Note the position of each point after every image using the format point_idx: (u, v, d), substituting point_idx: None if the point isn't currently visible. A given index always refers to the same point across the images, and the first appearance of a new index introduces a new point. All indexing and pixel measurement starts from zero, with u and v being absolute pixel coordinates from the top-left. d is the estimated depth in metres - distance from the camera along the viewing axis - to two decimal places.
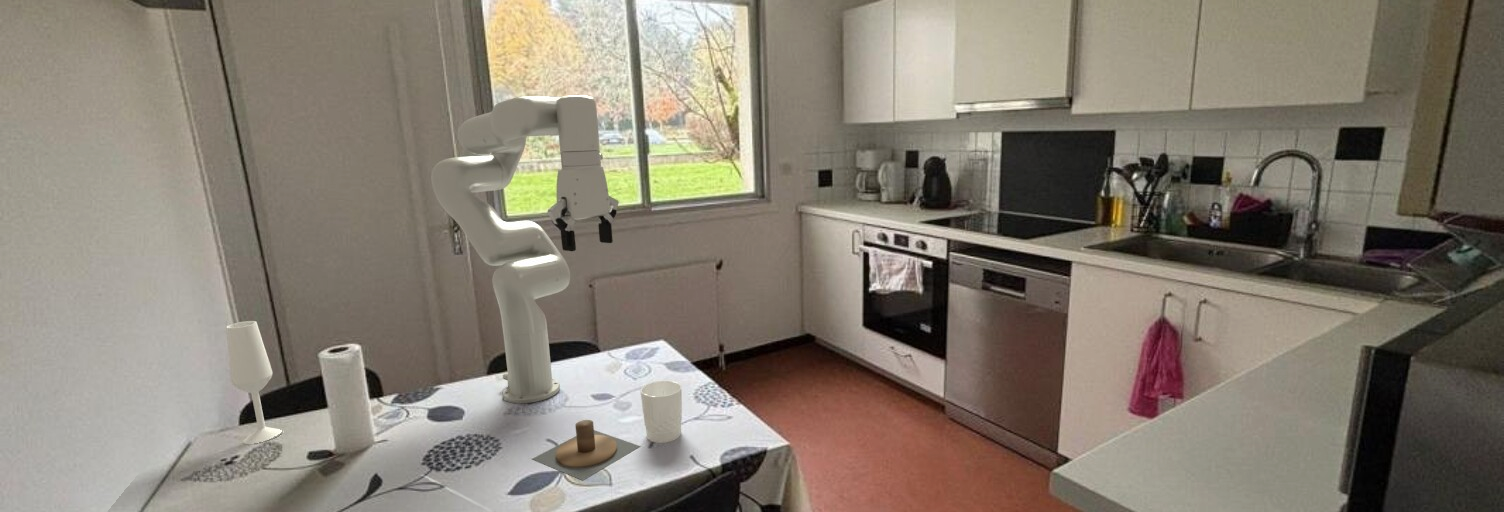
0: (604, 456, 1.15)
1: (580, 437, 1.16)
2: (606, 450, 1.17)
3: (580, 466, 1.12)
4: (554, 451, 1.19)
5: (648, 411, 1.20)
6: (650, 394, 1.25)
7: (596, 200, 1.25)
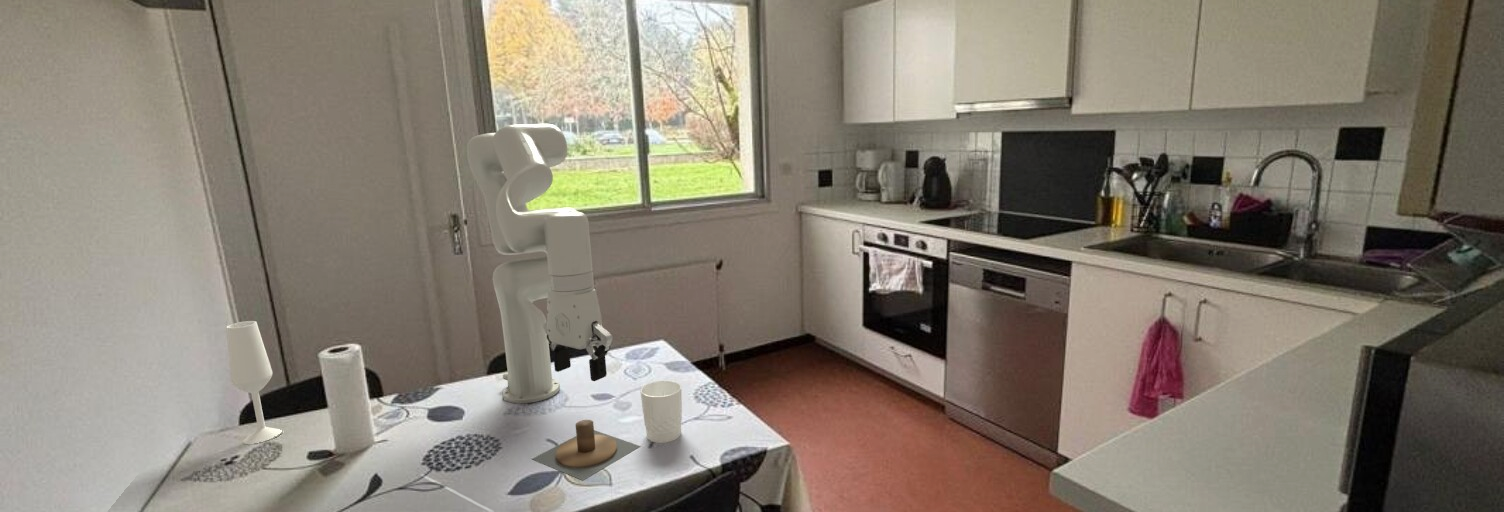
0: (604, 456, 1.15)
1: (580, 437, 1.16)
2: (606, 450, 1.17)
3: (580, 466, 1.12)
4: (554, 451, 1.19)
5: (648, 411, 1.20)
6: (650, 394, 1.25)
7: None
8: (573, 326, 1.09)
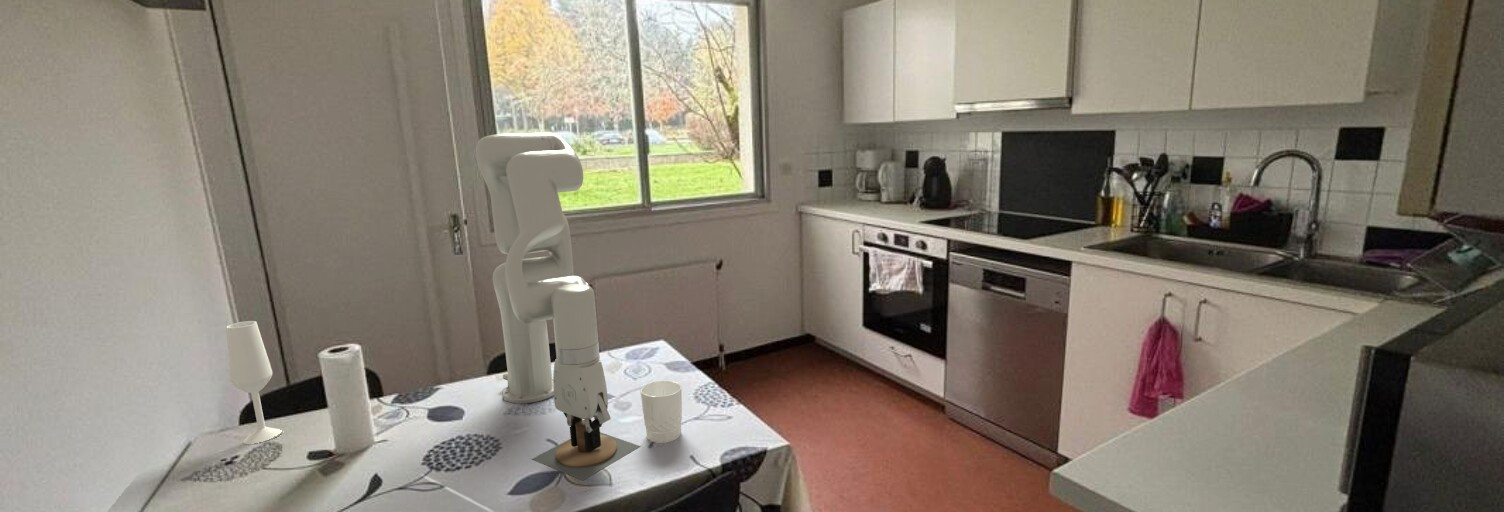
0: (604, 456, 1.15)
1: (580, 437, 1.16)
2: (606, 449, 1.17)
3: (580, 466, 1.12)
4: (554, 451, 1.19)
5: (648, 411, 1.20)
6: (650, 394, 1.25)
7: None
8: (579, 397, 1.12)
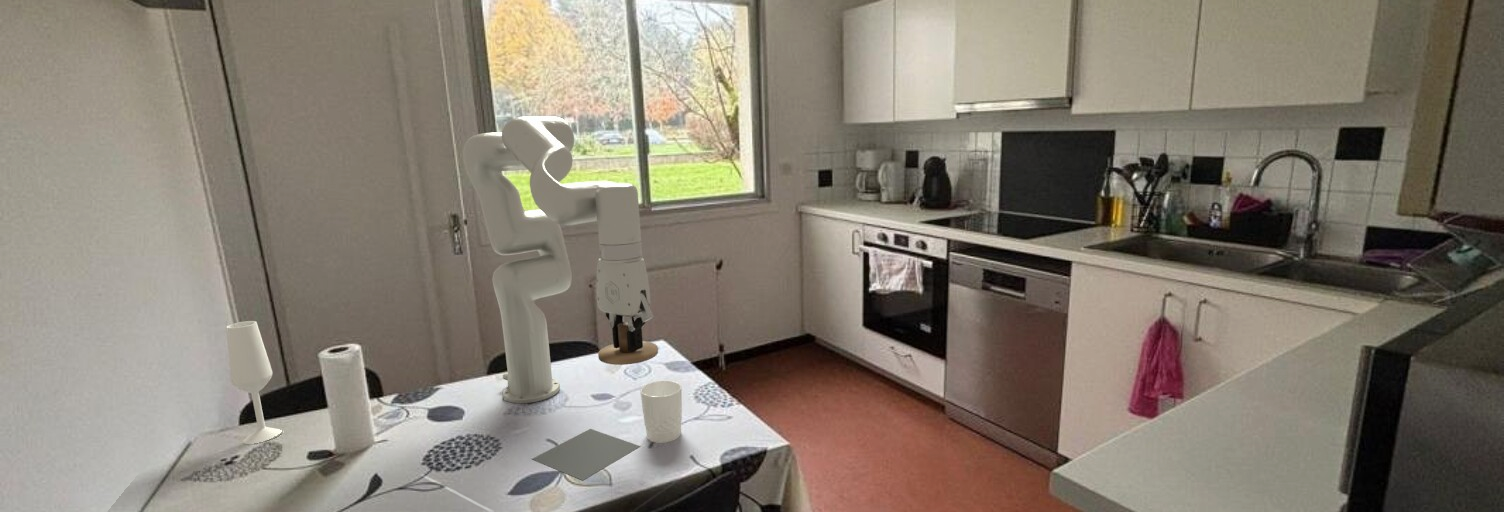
0: (646, 355, 1.15)
1: (622, 337, 1.16)
2: (648, 351, 1.17)
3: (623, 363, 1.13)
4: (554, 451, 1.19)
5: (648, 411, 1.20)
6: (650, 394, 1.25)
7: None
8: (622, 294, 1.12)
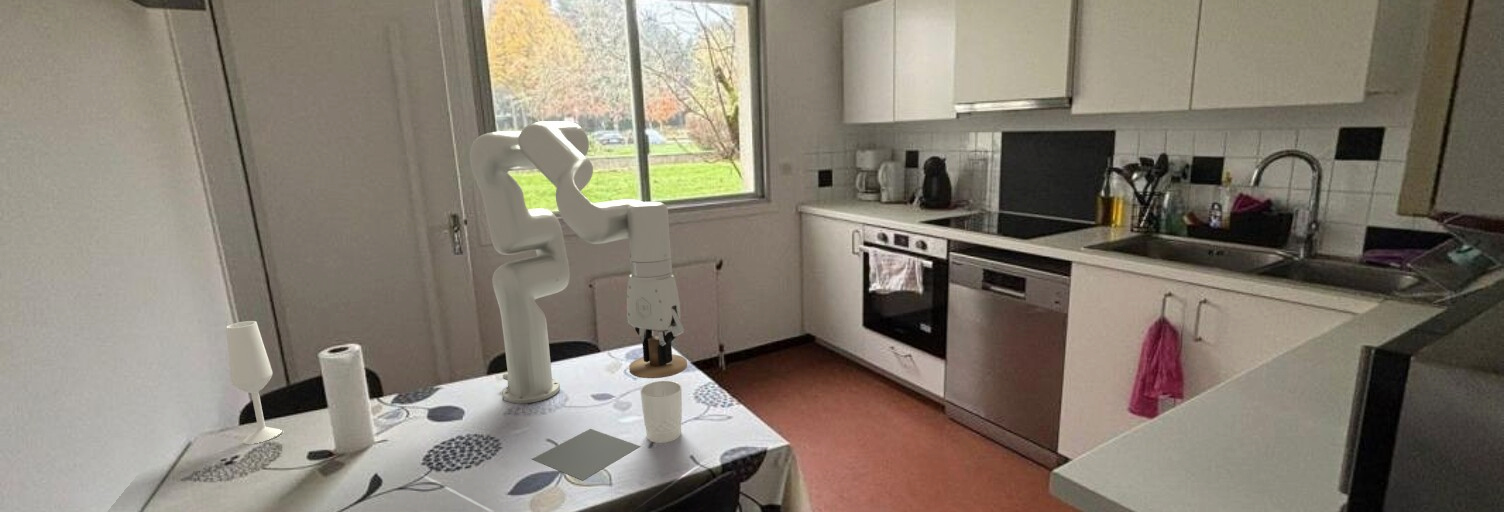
0: (677, 368, 1.18)
1: (653, 351, 1.19)
2: (677, 364, 1.21)
3: (655, 376, 1.16)
4: (554, 451, 1.19)
5: (648, 411, 1.20)
6: (650, 394, 1.25)
7: None
8: (654, 310, 1.15)
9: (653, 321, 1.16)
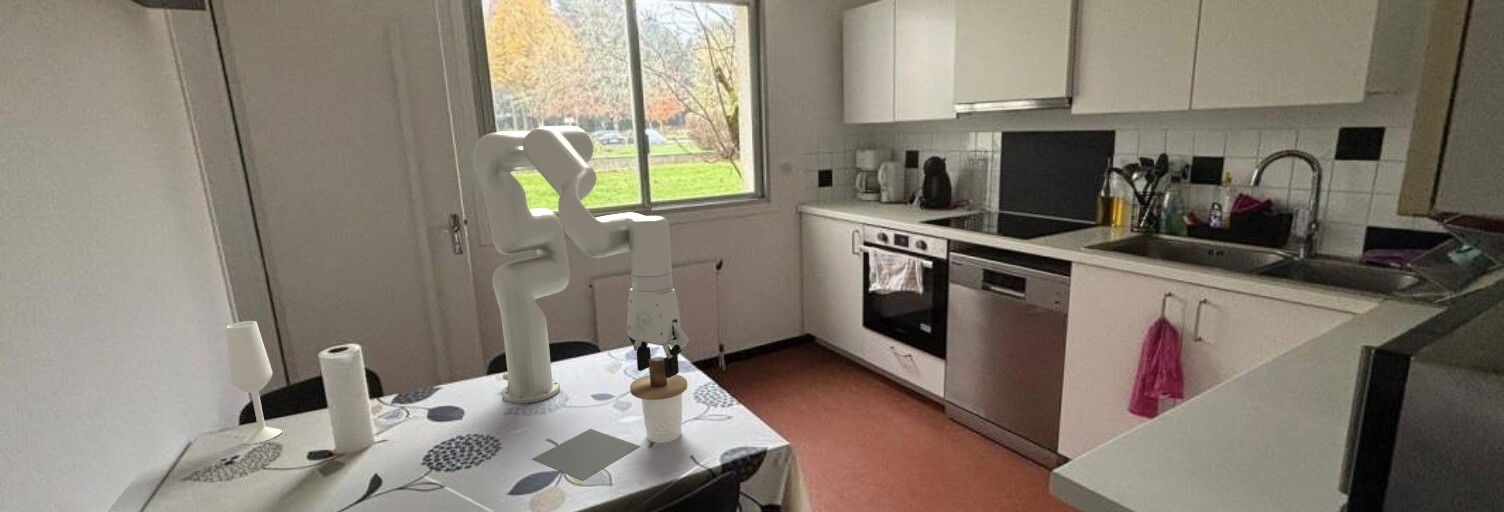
0: (677, 390, 1.19)
1: (653, 372, 1.20)
2: (678, 385, 1.22)
3: (656, 398, 1.17)
4: (554, 451, 1.19)
5: (648, 411, 1.20)
6: None
7: None
8: (655, 324, 1.16)
9: (653, 335, 1.17)
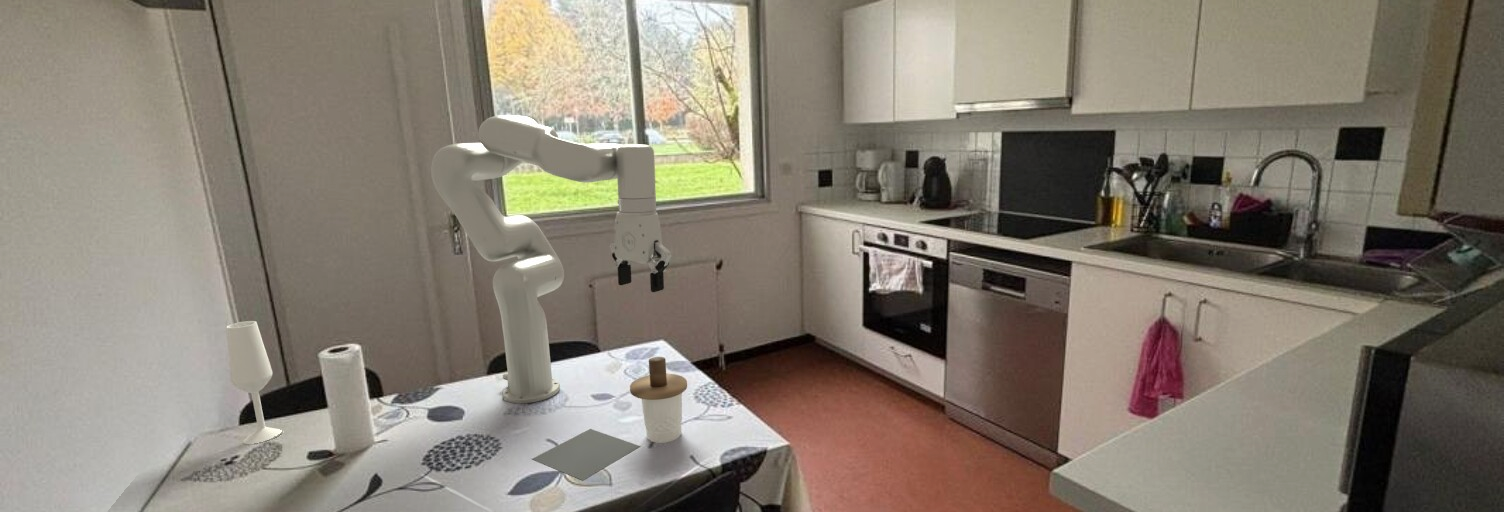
0: (677, 390, 1.19)
1: (653, 372, 1.20)
2: (678, 385, 1.22)
3: (656, 398, 1.17)
4: (554, 451, 1.19)
5: (648, 411, 1.20)
6: None
7: None
8: (638, 243, 1.26)
9: (636, 254, 1.27)
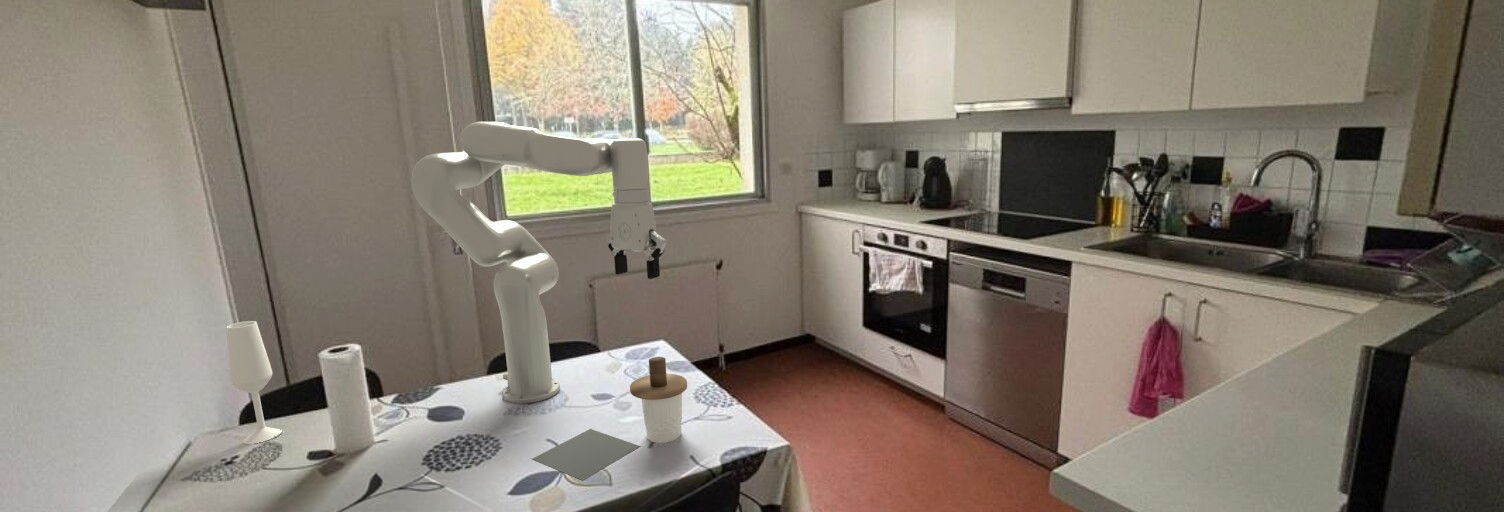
0: (677, 389, 1.19)
1: (653, 372, 1.20)
2: (678, 385, 1.22)
3: (656, 398, 1.17)
4: (554, 451, 1.19)
5: (648, 411, 1.20)
6: None
7: None
8: (634, 232, 1.32)
9: (633, 242, 1.33)
